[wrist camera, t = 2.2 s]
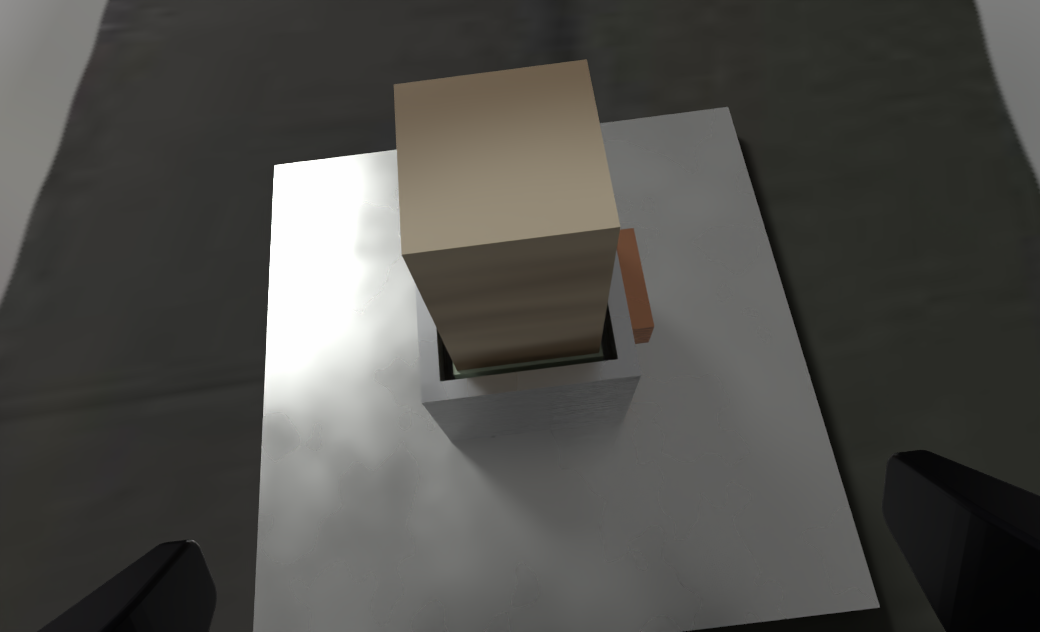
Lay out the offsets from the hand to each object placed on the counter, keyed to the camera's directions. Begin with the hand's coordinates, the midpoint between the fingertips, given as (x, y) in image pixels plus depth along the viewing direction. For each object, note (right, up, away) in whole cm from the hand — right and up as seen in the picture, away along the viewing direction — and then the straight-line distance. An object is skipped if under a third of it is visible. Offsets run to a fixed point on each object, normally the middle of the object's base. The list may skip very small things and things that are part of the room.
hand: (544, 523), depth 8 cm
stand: (0, +1, +14) cm, 15 cm away
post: (0, +2, +13) cm, 13 cm away
